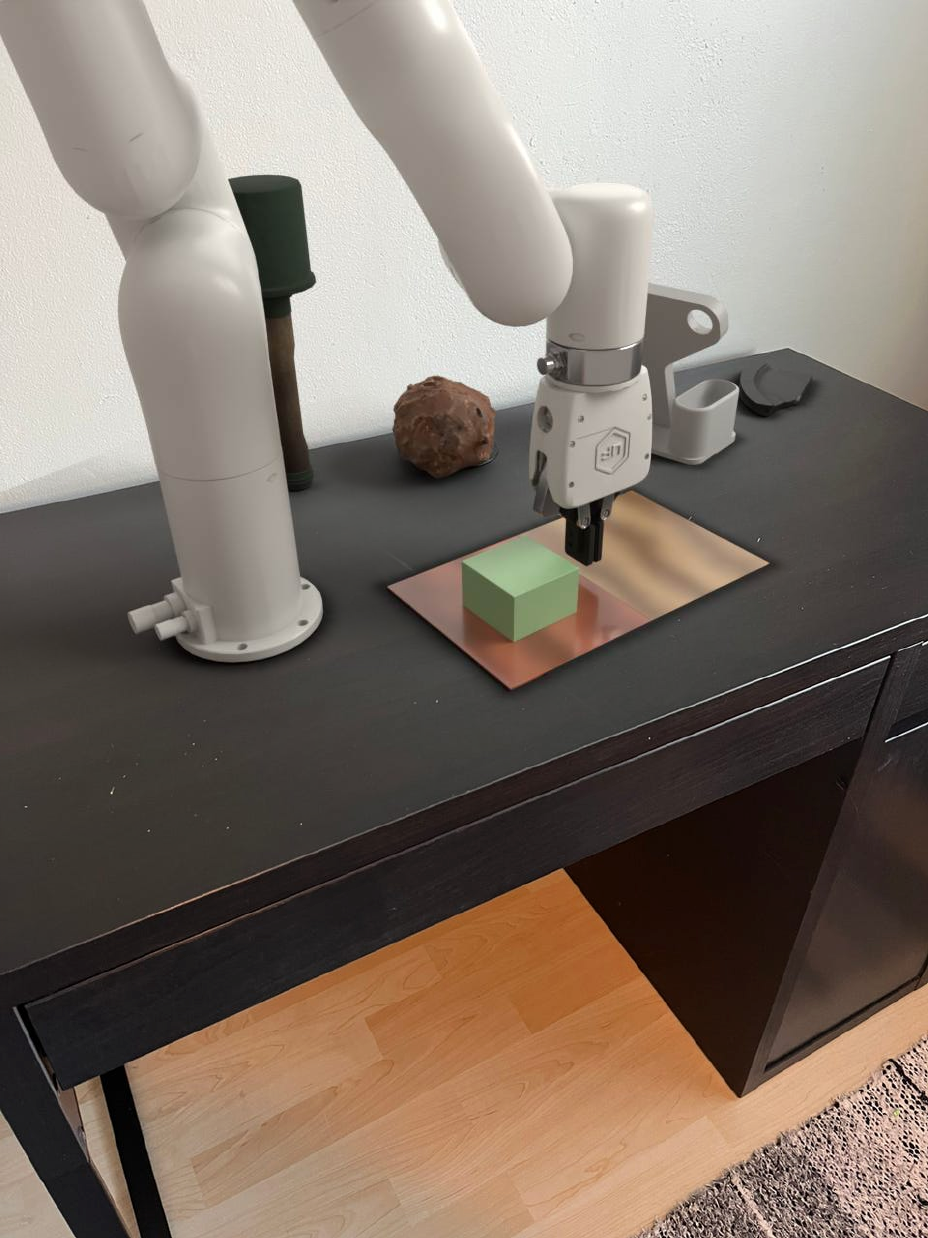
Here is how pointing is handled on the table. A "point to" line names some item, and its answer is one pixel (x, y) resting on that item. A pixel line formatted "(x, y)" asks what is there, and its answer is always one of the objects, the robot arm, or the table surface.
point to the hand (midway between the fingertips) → (582, 556)
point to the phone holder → (670, 335)
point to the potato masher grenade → (280, 297)
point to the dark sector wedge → (771, 388)
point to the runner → (588, 588)
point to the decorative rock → (443, 426)
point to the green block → (520, 587)
